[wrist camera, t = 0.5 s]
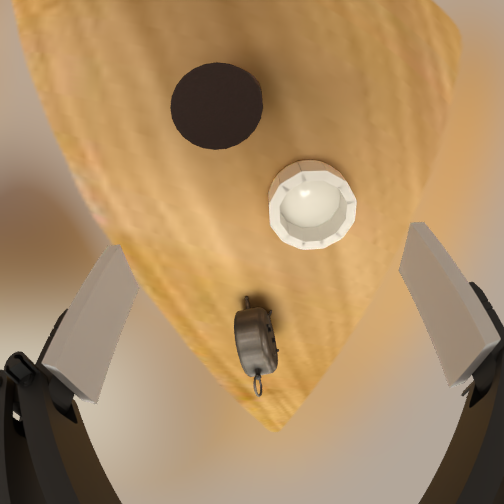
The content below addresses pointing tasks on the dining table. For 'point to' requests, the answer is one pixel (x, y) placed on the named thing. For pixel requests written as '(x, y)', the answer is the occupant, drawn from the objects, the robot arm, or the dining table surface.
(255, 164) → the dining table surface
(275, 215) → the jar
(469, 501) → the robot arm
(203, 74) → the deodorant
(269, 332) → the alarm clock
